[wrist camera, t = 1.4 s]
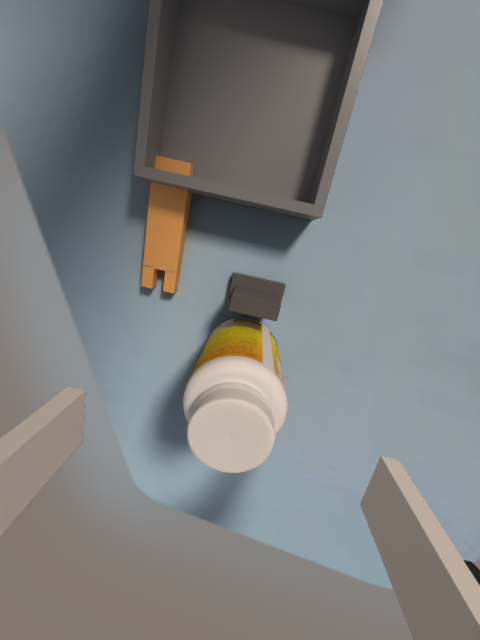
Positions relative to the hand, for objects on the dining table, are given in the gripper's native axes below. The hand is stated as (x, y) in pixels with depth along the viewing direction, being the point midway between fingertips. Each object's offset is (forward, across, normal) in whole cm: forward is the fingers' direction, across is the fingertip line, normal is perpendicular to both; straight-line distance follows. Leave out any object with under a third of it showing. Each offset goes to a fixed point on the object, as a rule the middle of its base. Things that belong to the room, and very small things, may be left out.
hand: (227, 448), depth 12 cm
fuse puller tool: (+11, -7, +9) cm, 16 cm away
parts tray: (+10, -3, +16) cm, 20 cm away
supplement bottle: (+11, 0, +1) cm, 11 cm away
